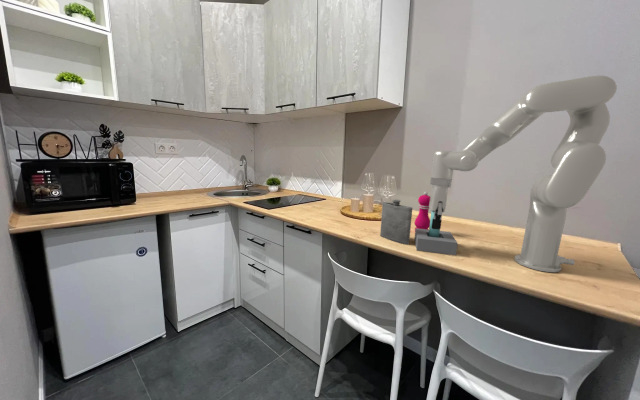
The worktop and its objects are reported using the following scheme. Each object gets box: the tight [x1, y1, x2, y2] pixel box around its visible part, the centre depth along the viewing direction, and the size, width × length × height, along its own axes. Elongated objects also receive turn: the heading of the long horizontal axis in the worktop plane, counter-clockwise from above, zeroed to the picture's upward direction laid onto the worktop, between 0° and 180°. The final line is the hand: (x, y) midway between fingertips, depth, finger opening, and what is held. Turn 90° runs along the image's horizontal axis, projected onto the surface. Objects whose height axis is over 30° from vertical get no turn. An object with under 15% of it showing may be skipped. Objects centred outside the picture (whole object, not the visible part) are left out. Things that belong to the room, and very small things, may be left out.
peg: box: [428, 209, 443, 238], centre depth 102 cm, size 4×4×14 cm
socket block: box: [413, 227, 458, 256], centre depth 104 cm, size 14×14×5 cm
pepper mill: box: [414, 191, 431, 230], centre depth 121 cm, size 7×7×20 cm
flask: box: [379, 199, 413, 246], centre depth 109 cm, size 4×14×18 cm, turn 39°
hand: (435, 226), depth 103 cm, fingers closed on peg, 4 cm apart
